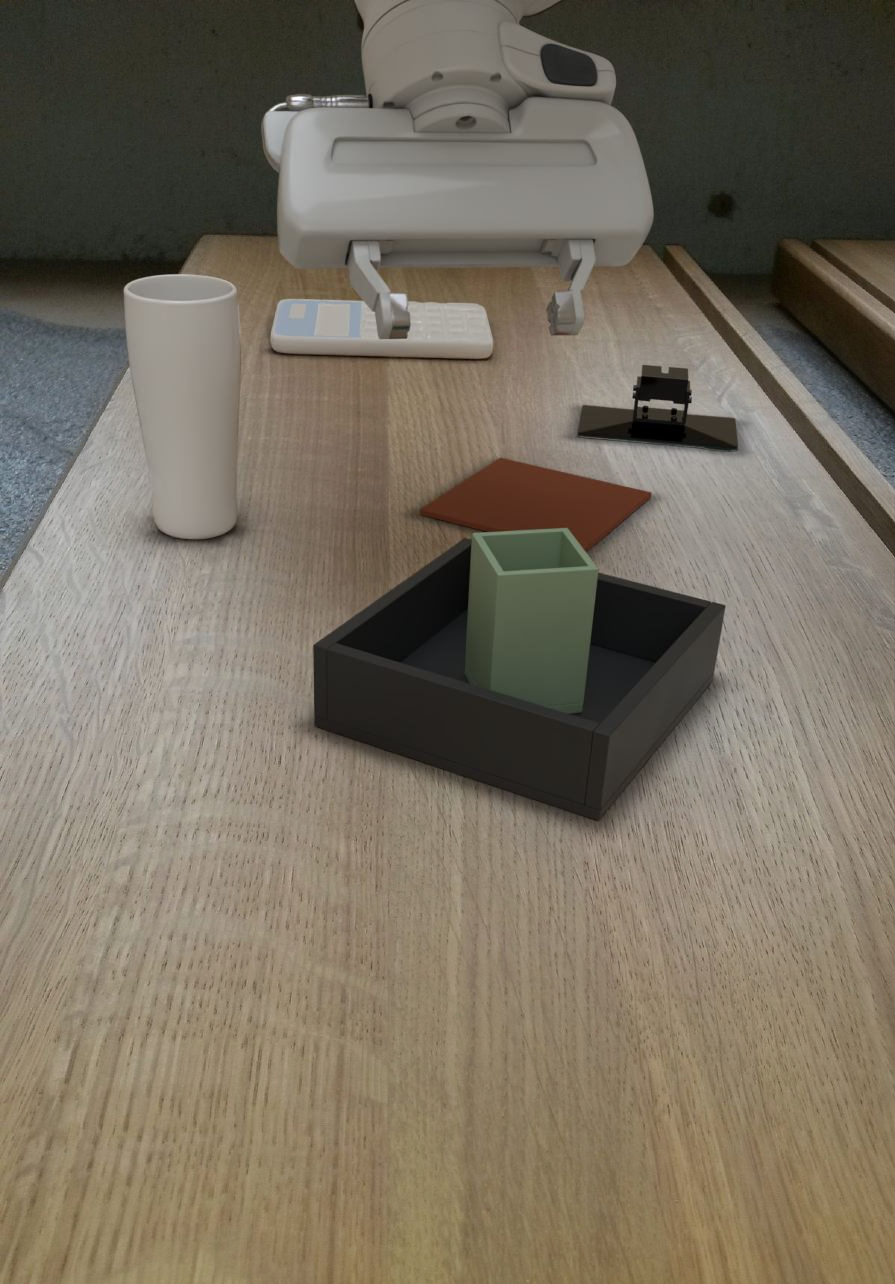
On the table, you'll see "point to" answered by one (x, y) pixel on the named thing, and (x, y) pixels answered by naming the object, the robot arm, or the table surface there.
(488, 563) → the box
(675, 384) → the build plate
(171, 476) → the drinking glass
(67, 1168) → the table surface
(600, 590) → the bin
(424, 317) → the calculator
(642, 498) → the mat
